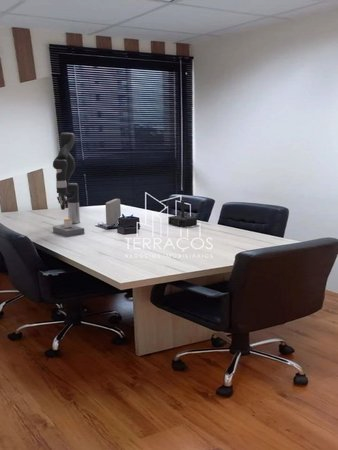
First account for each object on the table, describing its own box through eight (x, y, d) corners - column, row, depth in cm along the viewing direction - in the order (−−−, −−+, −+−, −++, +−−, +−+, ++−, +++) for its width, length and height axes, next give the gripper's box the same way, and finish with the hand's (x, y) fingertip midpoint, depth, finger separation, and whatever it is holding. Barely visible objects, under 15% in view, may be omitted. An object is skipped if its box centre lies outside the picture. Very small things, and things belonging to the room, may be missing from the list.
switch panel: (53, 231, 320) (52, 226, 319) (69, 229, 329) (69, 224, 328) (67, 236, 304) (67, 231, 303) (84, 233, 313) (84, 228, 312)
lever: (64, 227, 315) (63, 219, 314) (70, 226, 318) (69, 218, 317) (66, 227, 313) (65, 219, 312) (72, 226, 316) (71, 219, 315)
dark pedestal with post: (166, 224, 344) (166, 200, 340) (181, 222, 355) (181, 198, 351) (182, 228, 330) (182, 202, 326) (197, 225, 341) (197, 200, 337)
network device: (113, 228, 332) (112, 202, 328) (103, 227, 334) (102, 202, 330) (123, 222, 357) (122, 198, 353) (113, 221, 358) (112, 198, 354)
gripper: (70, 186, 312) (71, 210, 316) (61, 185, 322) (63, 208, 325) (61, 187, 308) (62, 211, 311) (52, 186, 317) (54, 209, 320)
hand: (62, 209), depth 318 cm, fingers closed
